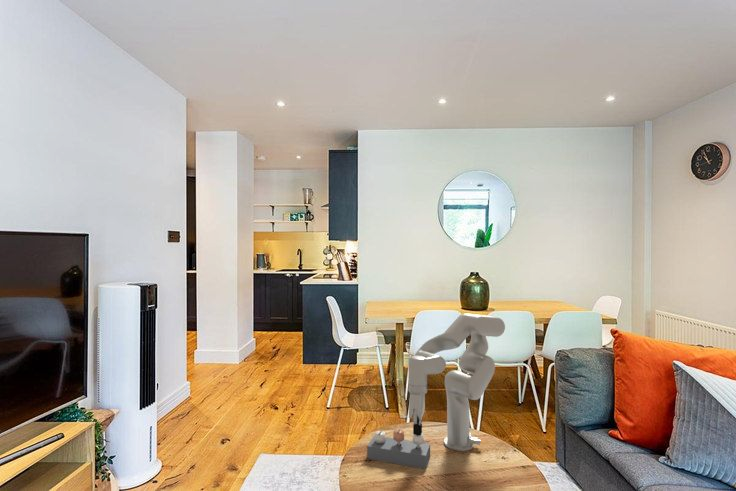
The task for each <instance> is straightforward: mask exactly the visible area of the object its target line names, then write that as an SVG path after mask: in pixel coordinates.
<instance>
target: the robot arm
mask: <svg viewBox="0 0 736 491" xmlns="http://www.w3.org/2000/svg"><path fill="white" fill-rule="evenodd" d="M503 320H504V319H502V318H500V317H496V316H490V315H485V314H484V315H483V314H475V313H474V314H473V313H466V312H465V313H464V312H463V313H461V314H459V316H458V317H456V319H455V320H454V321H453V322H452V324H450V326H449V327H447V329H446V330H445V331H444V332H443V333H441V334H439V335H437V336H434V337H433V338H431V339H428V340H427V341H425V342H424V343H423V344H422V345H421V347H419V348H418V349H417V351H416V352H415V354H414V355H411V356H410V357H409V358H408V375H407V376H408V378H407V379H408V383H407V384H408V389H407V390H408V393H409V399H408V400H409V401H408V402H409V404H408V419H409V420H411V419H412V418H413V419H412V421H413V422H412V423H413V425H412V426H413V427H412V429H413V430H412V432H413V433H412V435H413V434H415V435H421V434H422V433H423V421H422V420H423V416H424V413H425V410H426V408H425V406H426V404H425V403H426V394H427V393H428V375H439V374H441V373H442V372H444V371H445V369H446V367H447V362H446V360H445V358H443V357H442V356H440V355H438V354H437V353H440V352H443V351H449V350H454V349H457V348H459V347H460V346H462V344H463V342H464V341H465V340H466V339H467V338H468V337H469V336H470V337H471V338H470V341H469V342H468V345H467V347H466V348H465V350H464V351H463V354H462V355H461V356H460V359H459V361H458V367H459V369H461V371H460V370H453V369H452V370H450V371H448V372H447V373H446V374H445V377H444V388H445V393H446V410H447V411H446V412H447V413H446V415H447V416H446V418H447V419H446V422H447V424H446V428H447V429H446V430H447V432H446V437H445V438H444V439H443V444H444V446H445V447H446V448H448V449H449V450H452V451H456V452H468V451H470V450H472V449H473V448H474V445H479V446H481V439H479V438H478V436H477V437H475V436H472V433H471V431H470V430H471V429H470V426H471V425H470V422H471V421H470V402H469V400H473V401H477V400H479V399H480V398H481V397H482V396H483V395H484V393H485V391H486V390H487V388H488V386H489V383H490V382H491V381H492V378H493V376H494V374H495V370H496V362H495V361H494V359H493V358H492V357H491V356H489V355H487V353H488V350H489V342H488V340H487V337H493V338H494V337H495V338H498V337H500V336H502V335H503V334H504V332H505V329H506V325H505V322H504V321H503Z"/></svg>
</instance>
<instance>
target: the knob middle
mask: <svg viewBox="0 0 736 491" xmlns="http://www.w3.org/2000/svg"><path fill="white" fill-rule="evenodd" d="M392 434H393V435H392V438H393V439H394V440H395V441H397V446H400V441H403V440H405V431H404V429H400V428H397V429H394V430H393V433H392Z"/></svg>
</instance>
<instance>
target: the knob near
mask: <svg viewBox="0 0 736 491" xmlns="http://www.w3.org/2000/svg"><path fill="white" fill-rule="evenodd" d="M424 437H425V436H424V433H423V432H422V434H421V435H415V434H413V433H412V441H413V443H414V444H417V449H420V445H421V444H423V443H425V438H424Z"/></svg>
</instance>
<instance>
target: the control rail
mask: <svg viewBox="0 0 736 491" xmlns="http://www.w3.org/2000/svg"><path fill="white" fill-rule="evenodd" d="M366 453H367V454H366V459H367V460H374V461H380V462H383V463H384V462H385V463H391V464H397V465H401V466H409V467H413V468H418V469H424V470H425V469H427V467H428V464H429V461H430V458H431V443H427V442H424V443H423V444H421V445H420V449H417V444H414V443H413V440H407V439H404V440H403V441H400V446H397V441H395V440H394V439H393V437H388V436H385V442H384V443H376V442H375V434H374V435H373V436H372V439H371V440H370V441H369V442H368V444H367V445H366Z"/></svg>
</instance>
